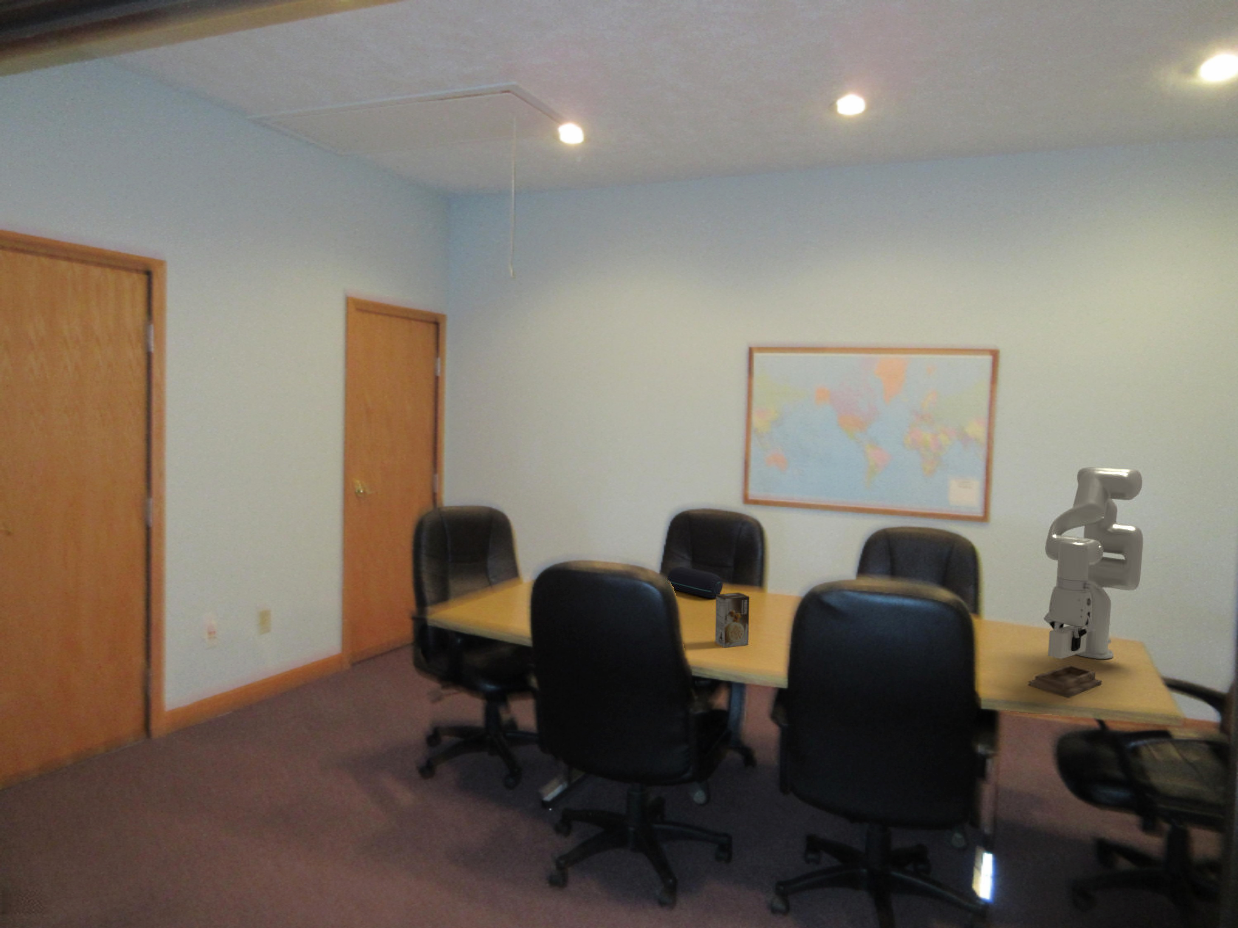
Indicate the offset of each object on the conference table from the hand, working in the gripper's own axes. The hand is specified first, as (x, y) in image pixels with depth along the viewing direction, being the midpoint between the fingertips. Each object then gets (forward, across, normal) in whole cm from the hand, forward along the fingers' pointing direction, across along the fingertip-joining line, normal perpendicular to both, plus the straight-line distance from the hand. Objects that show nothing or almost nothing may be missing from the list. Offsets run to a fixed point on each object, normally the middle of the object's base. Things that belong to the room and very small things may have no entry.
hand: (1067, 647), depth 221 cm
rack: (+11, 0, 0) cm, 11 cm away
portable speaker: (+11, +135, +23) cm, 137 cm away
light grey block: (+2, 0, 0) cm, 2 cm away
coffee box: (+11, +78, +56) cm, 97 cm away
